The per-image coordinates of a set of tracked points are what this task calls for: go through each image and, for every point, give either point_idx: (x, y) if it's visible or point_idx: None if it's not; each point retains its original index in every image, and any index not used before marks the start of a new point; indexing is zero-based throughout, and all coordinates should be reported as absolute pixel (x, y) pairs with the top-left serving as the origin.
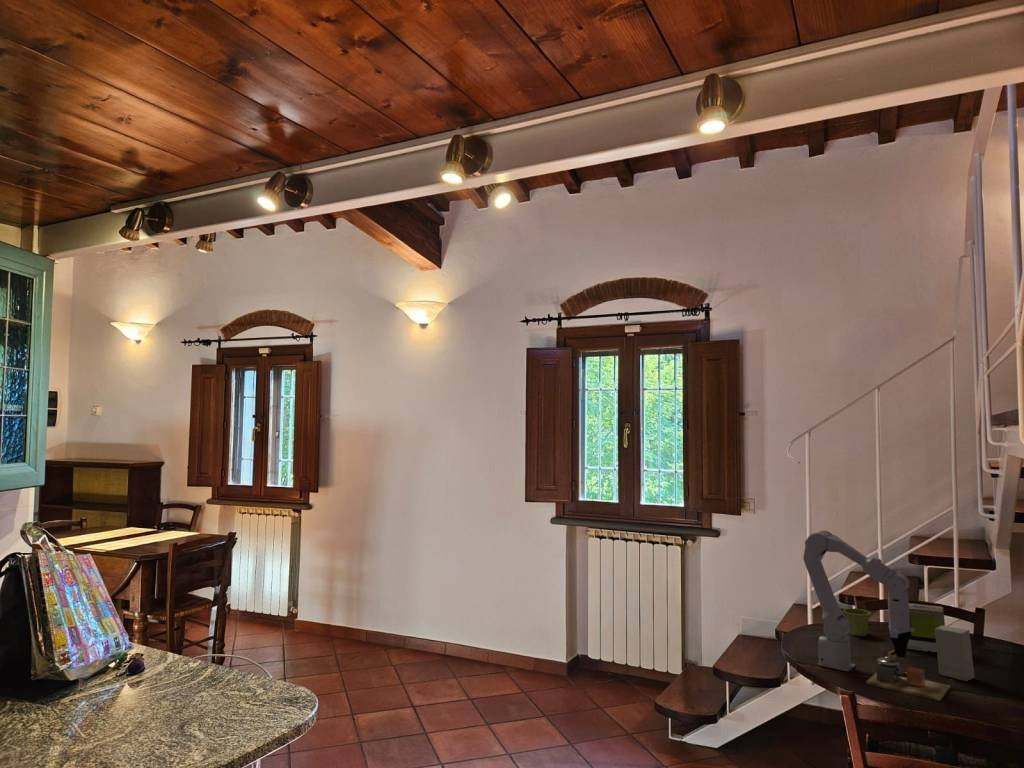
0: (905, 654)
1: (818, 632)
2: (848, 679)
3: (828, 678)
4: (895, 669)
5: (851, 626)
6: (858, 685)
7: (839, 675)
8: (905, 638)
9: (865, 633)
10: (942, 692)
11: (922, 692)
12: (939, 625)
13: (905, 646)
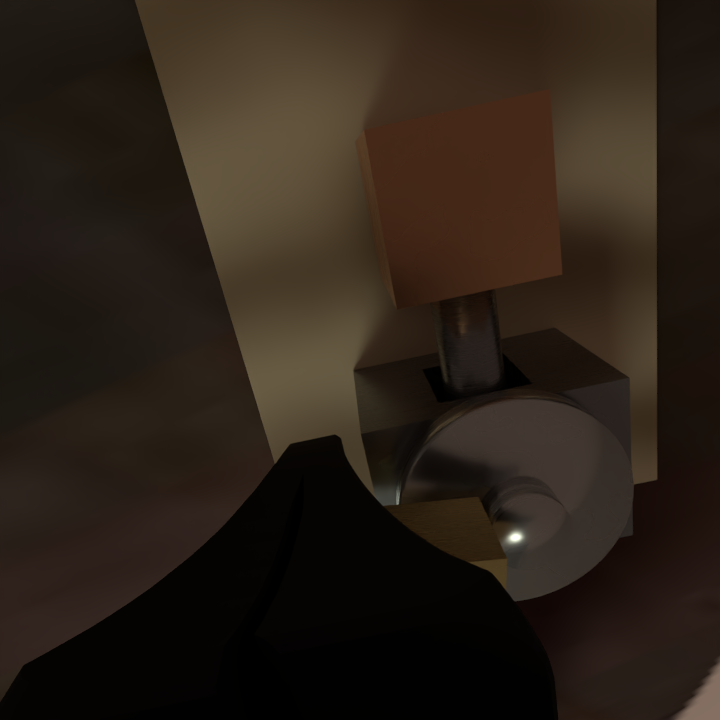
0: (298, 451)
1: None
2: (636, 572)
3: (711, 638)
4: (562, 379)
5: None
6: (716, 482)
7: (598, 635)
8: (521, 623)
9: None
10: None
11: (600, 58)
12: None
13: (368, 505)
